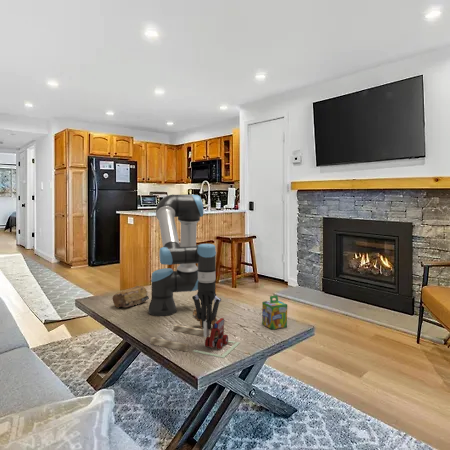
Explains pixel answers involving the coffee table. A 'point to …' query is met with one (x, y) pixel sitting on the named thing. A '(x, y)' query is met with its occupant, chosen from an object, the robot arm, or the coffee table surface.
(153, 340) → the lane walls
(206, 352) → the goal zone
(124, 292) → the petrified wood
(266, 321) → the chalk box
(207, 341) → the toy fire truck
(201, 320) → the lion figurine
